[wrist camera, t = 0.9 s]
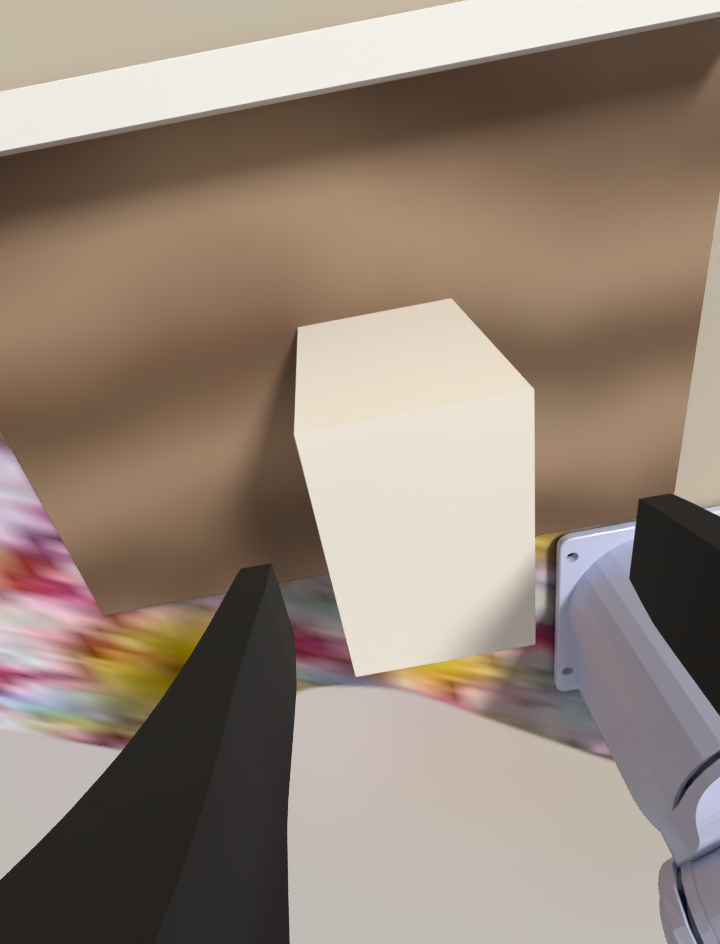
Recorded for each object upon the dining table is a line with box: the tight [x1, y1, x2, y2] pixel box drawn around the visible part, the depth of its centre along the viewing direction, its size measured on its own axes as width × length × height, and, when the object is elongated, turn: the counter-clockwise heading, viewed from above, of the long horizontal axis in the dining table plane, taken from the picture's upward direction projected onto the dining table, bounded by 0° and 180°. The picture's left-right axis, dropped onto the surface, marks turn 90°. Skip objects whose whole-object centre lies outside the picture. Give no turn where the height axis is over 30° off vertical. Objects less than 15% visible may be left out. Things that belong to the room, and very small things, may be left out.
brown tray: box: [0, 0, 720, 615], centre depth 17 cm, size 16×22×3 cm
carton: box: [294, 298, 535, 677], centre depth 15 cm, size 5×7×7 cm
